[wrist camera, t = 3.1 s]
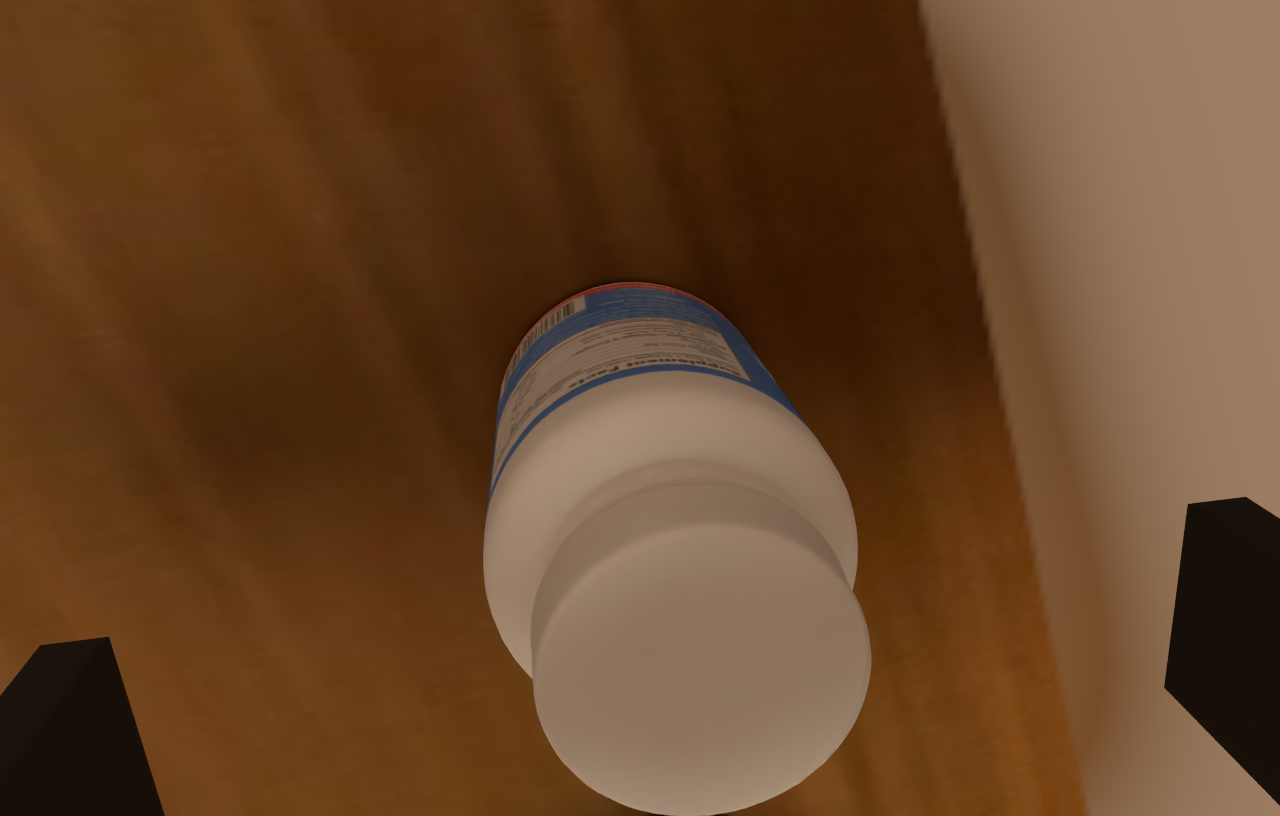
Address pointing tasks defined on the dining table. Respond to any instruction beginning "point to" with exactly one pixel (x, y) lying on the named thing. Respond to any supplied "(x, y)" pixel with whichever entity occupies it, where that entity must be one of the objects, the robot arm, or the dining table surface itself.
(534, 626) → the pill bottle
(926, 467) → the dining table surface
